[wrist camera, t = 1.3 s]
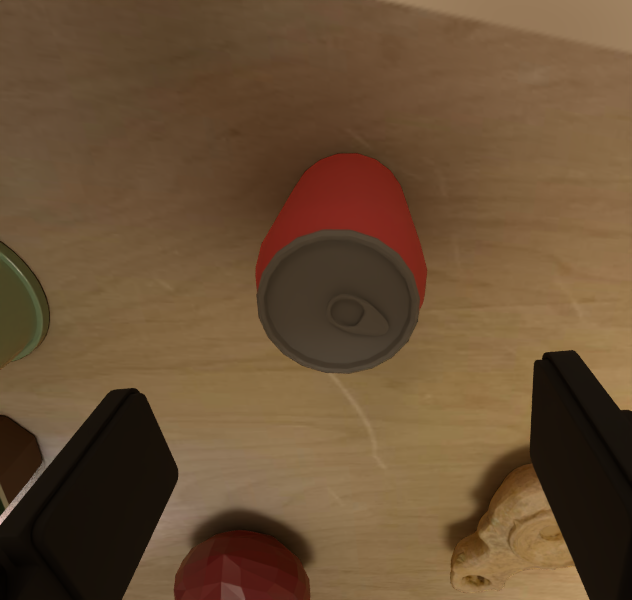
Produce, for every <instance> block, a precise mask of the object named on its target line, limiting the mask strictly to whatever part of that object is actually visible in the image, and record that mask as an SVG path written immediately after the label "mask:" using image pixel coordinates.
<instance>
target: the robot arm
mask: <svg viewBox="0 0 632 600" xmlns="http://www.w3.org/2000/svg"><path fill="white" fill-rule="evenodd" d="M530 457H531V461H532V465H533V468H534V470H535V472H536V475H537V477H538V479H539V482H540V484H541V486H542V489H543V491H544V494H545V496H546V498H547V501H548V503H549V505H550V508H551V510H552V512H553V515H554V517H555V519H556V522H557V524H558V526H559V529H560V531H561V533H562V536H563V538H564V541H565V543H566V545H567V548H568V550H569V552H570V555H571V557H572V559H573V562H574V564H575V566H576V569H577V571H578V573H579V576H580V578H581V580H582V583H583V585H584V588H585V590H586V592H587V595H588V597H589V599H590V600H632V411H630V410H620V409H619V408H618V406H617V405H616V404H615V402H614V401H613V400H612V398H611V397H610V396H609V394H608V393H607V392H606V390H605V389H604V388H603V387H602V385H601V384H600V383H599V381H598V380H597V379H596V377H595V376H594V375H593V373H592V372H591V371H590V369H589V368H588V367H587V365H586V364H585V363H584V361H583V360H582V359H581V358H580V356H579V355H578V354H577V353H576V352H575V351H573V350H569V351H558V352H546V353H544V355H543V357H542V360H536V361H535V362H534V373H533V394H532V414H531V435H530ZM177 480H178V468H177V465H176V463H175V461H174V458H173V456H172V454H171V452H170V450H169V447H168V445H167V443H166V441H165V438H164V436H163V434H162V432H161V430H160V427H159V425H158V423H157V421H156V418H155V416H154V414H153V412H152V409H151V407H150V405H149V403H148V401H147V398H146V397H145V395H144V394H142V393H140V392H139V391H138V390H137V389H135V388H129V389H117V390H112V391H110V392H109V393H108V394H107V395H106V397H105V398H104V399H103V400H102V401H101V403H100V404H99V405H98V406H97V408H96V409H95V410H94V411H93V412H92V414H91V415H90V416H89V417H88V419H87V420H86V421H85V422H84V423H83V425H82V426H81V427H80V428H79V430H78V431H77V432H76V433H75V434H74V436H73V437H72V438H71V439H70V441H69V442H68V443H67V444H66V445H65V447H64V448H63V449H62V450H61V452H60V453H59V454H58V455H57V456H56V458H55V459H54V460H53V461H52V463H51V464H50V465H49V466H48V467H47V469H46V470H45V471H44V472H43V474H42V475H41V476H40V477H39V478H38V480H37V481H36V482H35V483H34V485H33V486H32V487H31V488H30V489H29V491H28V492H27V493H26V494H25V496H24V497H23V498H22V499H21V500H20V502H19V503H18V504H17V505H16V507H15V508H14V509H13V510H12V511H11V513H10V514H9V515H8V516H7V518H6V519H5V520H4V521H3V522H2V524H1V525H0V600H122V598H123V596H124V594H125V592H126V590H127V587H128V585H129V583H130V581H131V579H132V577H133V575H134V572H135V570H136V568H137V566H138V564H139V562H140V560H141V558H142V555H143V553H144V551H145V549H146V547H147V545H148V543H149V541H150V538H151V536H152V534H153V532H154V530H155V528H156V526H157V523H158V521H159V519H160V517H161V515H162V513H163V511H164V509H165V506H166V504H167V502H168V500H169V498H170V496H171V494H172V491H173V489H174V487H175V485H176V483H177Z"/></svg>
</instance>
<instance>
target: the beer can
mask: <svg viewBox="0 0 632 600" xmlns="http://www.w3.org/2000/svg"><path fill="white" fill-rule="evenodd" d="M426 276H427V267H426V264H425V260H424V256H423V252H422V248H421V244H420V241H419V238H418V235H417V232H416V229H415V226H414V223H413V221H412V218H411V215H410V212H409V209H408V206H407V203H406V200H405V197H404V194H403V191H402V188H401V186H400V184H399V183H398V181H397V180H396V178H395V177H394V175H393V174H392V172H391V171H390V170H389V169H388V168H386V167H385V166H384V165H382V164H381V163H380V162H378V161H377V160H376V159H373V158H370V157H367V156H364V155H361V154H358V153H349V154H335V155H333V156H330V157H327V158H324V159H321V160H319V161H318V162H317V163H315V164H314V165H313V166H311V167H310V168H309V169H308V170H306V171H305V172H304V174H303V175H302V177H301V178H300V180H299V181H298V183H297V184H296V186H295V187H294V189H293V191H292V193H291V194H290V196H289V198H288V199H287V201H286V203H285V205H284V206H283V208H282V210H281V211H280V213H279V215H278V217H277V218H276V220H275V222H274V223H273V225H272V227H271V228H270V230H269V232H268V234H267V235H266V237H265V239H264V240H263V242H262V244H261V248H260V252H259V256H258V260H257V264H256V286H257V295H256V296H257V305H258V315H259V319H260V321H261V323H262V325H263V328H264V330H265V332H266V334H267V336H268V338H269V339H270V340H271V341H272V342H273V343H274V344H275V345H276V347H277V348H278V349H279V350H280V351H281V352H282V353H283V354H284V355H286V356H287V357H289V358H291V359H292V360H294V361H296V362H297V363H299V364H300V365H302V366H305V367H308V368H311V369H315V370H318V371H321V372H325V373H347V374H349V373H354V372H358V371H363V370H367V369H372V368H374V367H375V366H377V365H379V364H381V363H383V362H385V361H387V360H389V359H390V358H392V357H393V356H394V355H395V354H396V353H397V352H398V351H399V350H400V349H401V348H402V347H403V346H404V345H405V344H406V343H407V342H408V341H409V338H410V336H411V334H412V332H413V330H414V328H415V326H416V324H417V322H418V315H419V310H420V308H421V306H422V304H423V300H424V295H425V286H426Z"/></svg>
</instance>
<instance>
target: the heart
mask: <svg viewBox="0 0 632 600" xmlns="http://www.w3.org/2000/svg"><path fill="white" fill-rule="evenodd" d="M174 597H175V600H310V584H309V578H308V576H307V574H306V572H305V570H304V568H303V566H302V564H301V562H300V560H299V558H298V557H297V556H295V555H294V554H293V553H292V552H291V551H290V550H288V549H287V548H286V547H285V546H284V545H283V544H281V543H280V542H279V541H278V540H277V539H276V538H274V537H273V536H271V535H266V534H262V533H257V532H253V531H247V530H235V531H228V532H223V533H219V534H216V535H214V536H212V537H211V538H209V539H207V540H206V541H204V542H202V543H200V544H199V545H197V546H195V547H193V548H192V549H191V550H190V552H189V553H188V554H187V556H186V557H185V559H184V560H183V561H182V563H181V565H180V567H179V569H178V571H177V573H176V576H175V584H174Z"/></svg>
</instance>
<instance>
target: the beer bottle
mask: <svg viewBox="0 0 632 600" xmlns="http://www.w3.org/2000/svg"><path fill="white" fill-rule="evenodd" d="M41 463H42V457H41V454H40V451H39V448H38V445H37V442H36V439H35V437H34V436H33V435H32V434H30V433H29V432H27V431H26V430H24V429H23V428H22V427H20V426H19V425H17V424H16V423H14V422H13V421H12V420H10V419H9V418H7V417H3V416H0V515H1V514H2V513H3V512H4V511H5V509H6V508H7V507H8V506H9V504H10V503H11V502H12V501H13V500H14V498H15V497H16V496H17V495H18V493H19V492H20V491H21V490H22V488H23V487H24V486H25V485H26V484H27V482H28V481H29V480H30V478H31V477H32V476H33V474H34V473H35V472H36V470H37V469H38V467H39V466H40V465H41Z"/></svg>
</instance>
